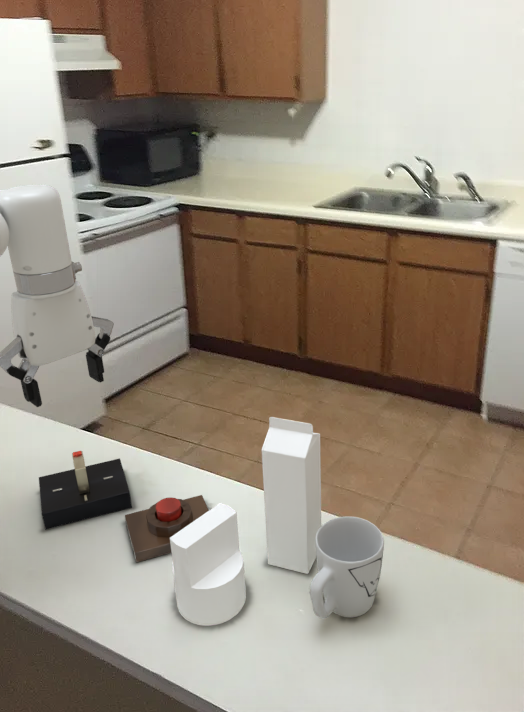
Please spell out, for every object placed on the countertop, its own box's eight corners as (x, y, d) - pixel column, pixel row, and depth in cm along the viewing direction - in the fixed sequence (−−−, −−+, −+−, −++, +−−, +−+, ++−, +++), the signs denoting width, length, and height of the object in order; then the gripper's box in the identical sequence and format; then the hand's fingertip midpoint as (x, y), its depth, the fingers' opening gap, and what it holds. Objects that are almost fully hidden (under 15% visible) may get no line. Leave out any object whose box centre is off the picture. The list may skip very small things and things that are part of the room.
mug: (342, 653, 79) (342, 589, 75) (287, 617, 84) (285, 555, 80) (394, 595, 86) (397, 534, 82) (342, 566, 92) (342, 507, 88)
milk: (283, 537, 97) (277, 404, 89) (322, 546, 95) (320, 411, 87) (267, 565, 92) (259, 427, 83) (308, 575, 90) (304, 435, 81)
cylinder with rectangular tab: (212, 563, 93) (205, 492, 88) (260, 594, 88) (255, 520, 83) (162, 602, 87) (151, 528, 82) (210, 637, 81) (201, 561, 76)
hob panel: (45, 530, 101) (41, 513, 99) (42, 492, 109) (38, 476, 108) (132, 507, 105) (129, 491, 103) (122, 473, 113) (119, 457, 112)
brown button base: (136, 562, 94) (133, 543, 92) (126, 523, 101) (123, 505, 100) (218, 539, 97) (217, 520, 96) (202, 503, 105) (201, 485, 104)
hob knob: (90, 491, 104) (85, 466, 102) (79, 494, 103) (74, 468, 101) (86, 474, 108) (82, 449, 106) (76, 476, 108) (71, 451, 106)
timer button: (159, 525, 96) (158, 515, 95) (154, 510, 99) (153, 500, 98) (184, 518, 97) (183, 509, 96) (178, 504, 100) (177, 494, 99)
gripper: (89, 258, 98) (106, 363, 105) (-31, 290, 87) (-3, 404, 94) (116, 269, 93) (132, 378, 100) (-8, 303, 82) (20, 423, 89)
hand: (66, 390), depth 97 cm, fingers open, 9 cm apart
